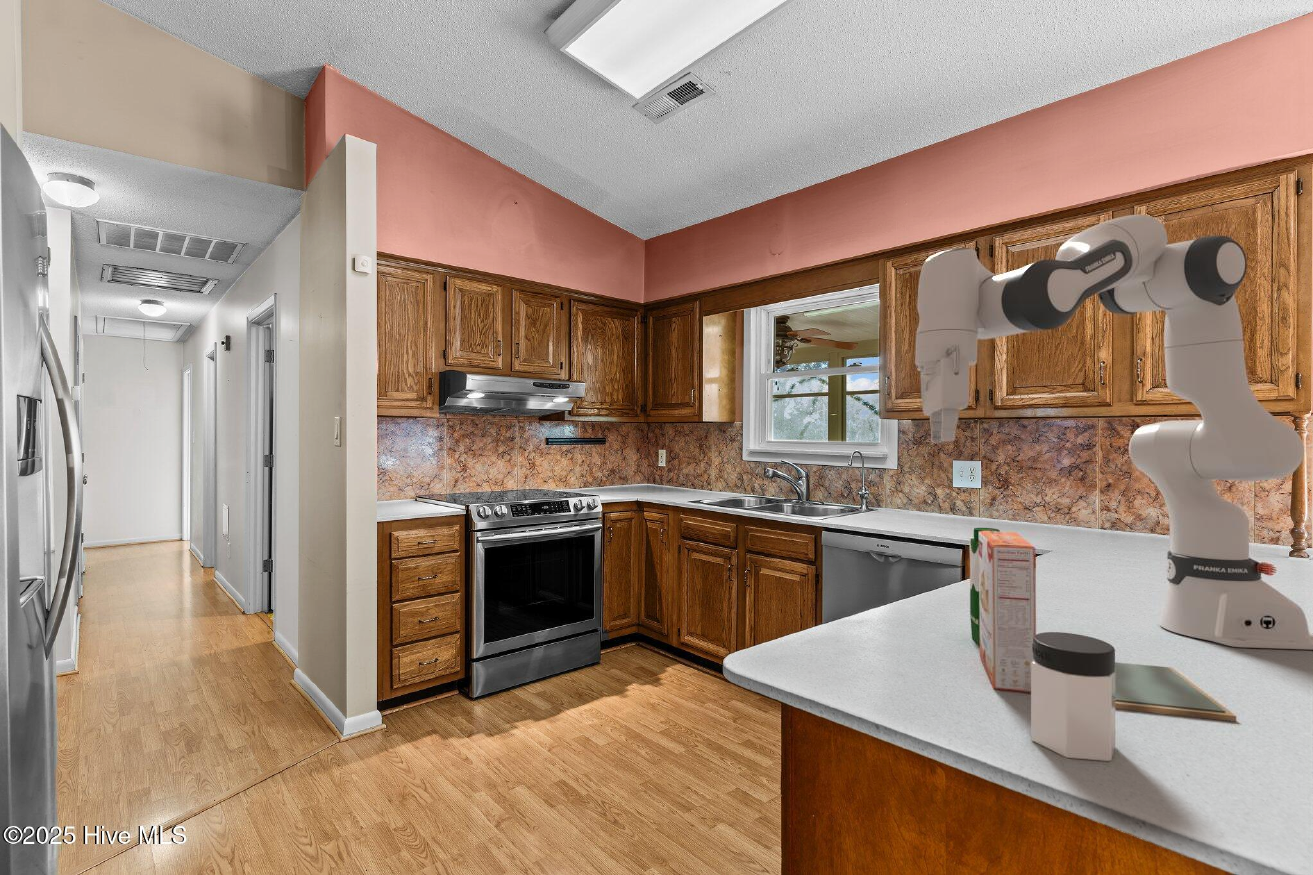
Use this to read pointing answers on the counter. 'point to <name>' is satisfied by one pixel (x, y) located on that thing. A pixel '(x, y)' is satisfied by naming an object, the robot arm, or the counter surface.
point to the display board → (1163, 693)
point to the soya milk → (975, 583)
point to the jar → (1073, 695)
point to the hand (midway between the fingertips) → (942, 442)
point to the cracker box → (1007, 608)
